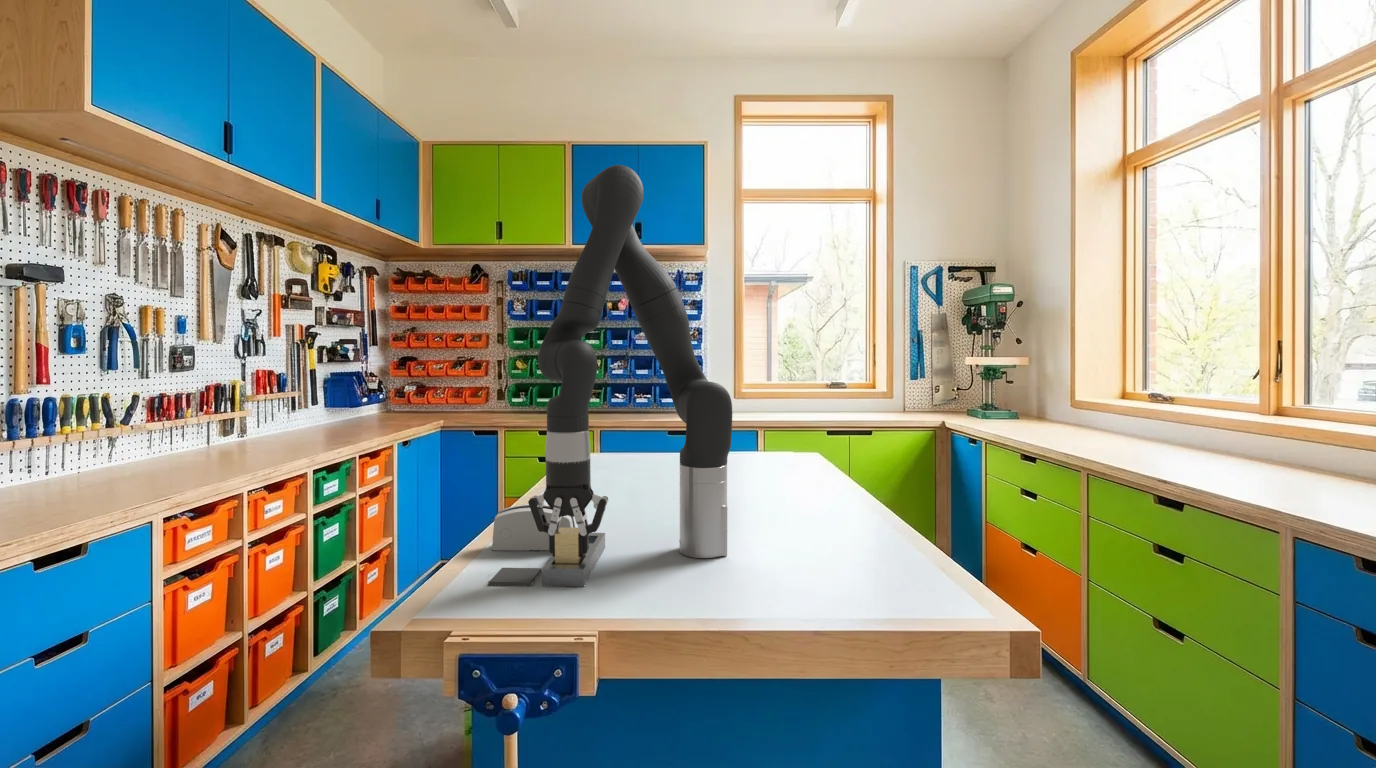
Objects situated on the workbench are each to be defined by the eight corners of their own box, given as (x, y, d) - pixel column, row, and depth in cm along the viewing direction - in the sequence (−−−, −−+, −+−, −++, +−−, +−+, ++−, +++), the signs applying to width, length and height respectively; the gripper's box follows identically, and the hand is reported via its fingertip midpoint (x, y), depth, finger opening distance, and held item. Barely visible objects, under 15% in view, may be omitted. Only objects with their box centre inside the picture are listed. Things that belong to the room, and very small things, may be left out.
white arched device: (580, 547, 129) (578, 500, 127) (576, 558, 125) (574, 510, 123) (498, 546, 129) (495, 500, 127) (490, 557, 125) (488, 509, 123)
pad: (541, 571, 113) (541, 568, 113) (530, 586, 106) (530, 582, 106) (502, 570, 113) (502, 567, 113) (488, 585, 106) (488, 581, 106)
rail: (605, 547, 126) (605, 532, 126) (583, 586, 105) (583, 569, 105) (570, 547, 127) (570, 532, 126) (542, 586, 106) (541, 568, 105)
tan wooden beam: (583, 572, 112) (582, 527, 111) (578, 580, 108) (578, 534, 107) (560, 572, 112) (560, 527, 112) (555, 580, 108) (554, 534, 108)
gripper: (612, 453, 112) (613, 549, 113) (533, 453, 113) (534, 548, 114) (605, 460, 105) (606, 563, 106) (520, 460, 105) (521, 562, 106)
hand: (569, 554), depth 110 cm, fingers closed on tan wooden beam, 4 cm apart
